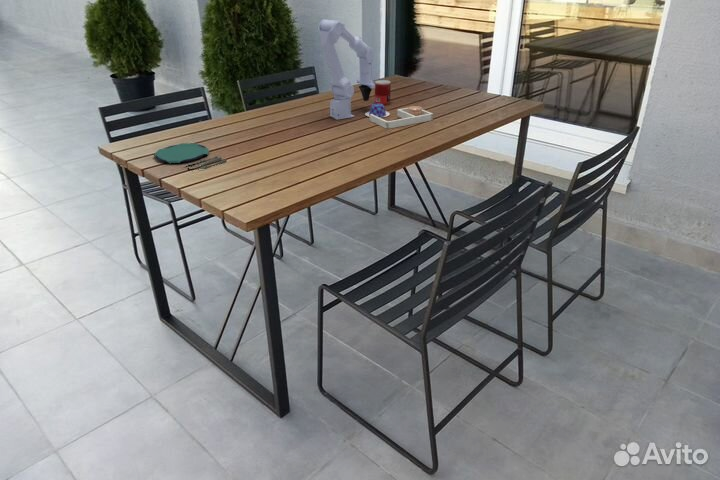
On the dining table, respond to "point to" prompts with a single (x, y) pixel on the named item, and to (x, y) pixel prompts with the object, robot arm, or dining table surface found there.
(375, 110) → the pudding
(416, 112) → the ramekin
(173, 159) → the cutlery set
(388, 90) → the canned food
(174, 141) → the dining table surface
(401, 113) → the serving frame
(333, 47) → the robot arm
